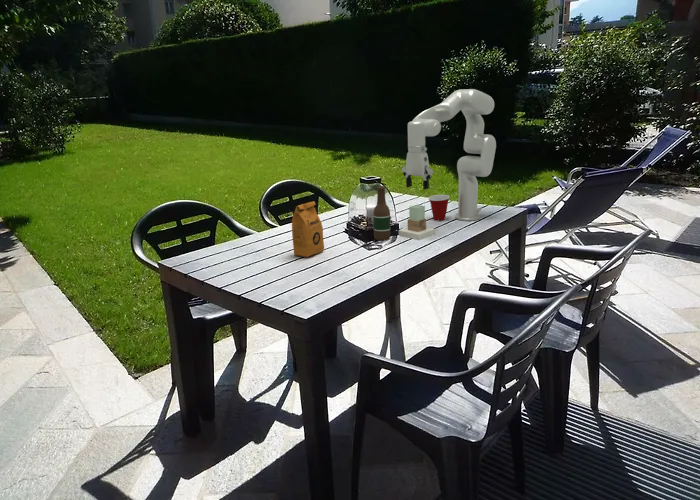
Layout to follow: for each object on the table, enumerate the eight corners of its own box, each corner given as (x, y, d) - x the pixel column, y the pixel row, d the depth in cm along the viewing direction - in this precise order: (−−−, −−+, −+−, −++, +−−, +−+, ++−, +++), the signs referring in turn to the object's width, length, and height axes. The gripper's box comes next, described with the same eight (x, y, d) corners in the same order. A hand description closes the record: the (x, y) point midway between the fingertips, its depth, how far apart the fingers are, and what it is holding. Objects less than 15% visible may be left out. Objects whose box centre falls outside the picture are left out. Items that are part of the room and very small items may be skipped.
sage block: (416, 217, 237) (416, 204, 235) (424, 218, 234) (424, 206, 232) (409, 219, 234) (409, 206, 232) (417, 221, 230) (417, 208, 229)
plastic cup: (424, 218, 264) (424, 196, 260) (441, 215, 268) (441, 193, 264) (435, 223, 254) (436, 199, 251) (453, 220, 259) (454, 197, 255)
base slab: (415, 230, 244) (415, 225, 243) (435, 234, 236) (435, 228, 235) (398, 235, 236) (398, 230, 235) (419, 240, 228) (419, 234, 227)
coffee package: (328, 252, 217) (324, 201, 210) (307, 259, 208) (303, 207, 202) (311, 248, 223) (308, 199, 217) (290, 255, 214) (286, 204, 208)
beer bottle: (384, 241, 228) (383, 188, 221) (370, 239, 232) (368, 187, 225) (394, 237, 234) (393, 185, 226) (380, 235, 238) (378, 184, 231)
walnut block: (415, 227, 239) (415, 217, 238) (426, 229, 235) (426, 218, 234) (407, 230, 235) (407, 219, 234) (418, 232, 231) (417, 221, 230)
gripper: (437, 149, 221) (438, 188, 226) (407, 147, 233) (408, 184, 238) (427, 151, 216) (427, 191, 221) (396, 149, 228) (397, 187, 233)
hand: (417, 187), depth 230 cm, fingers open, 9 cm apart
